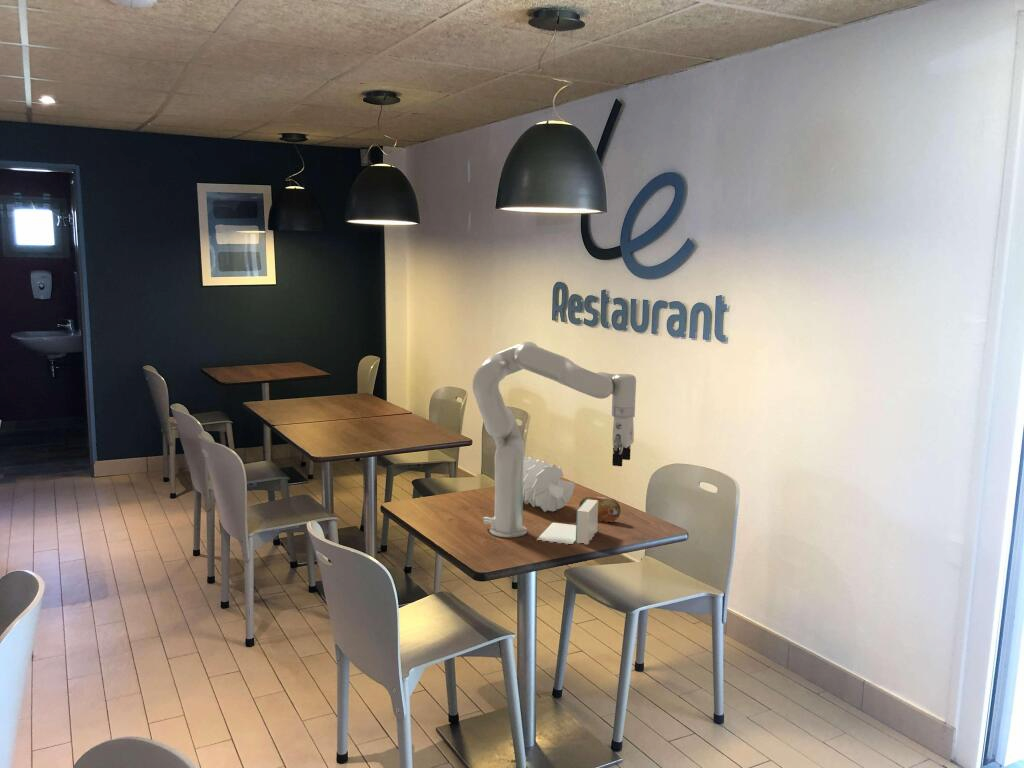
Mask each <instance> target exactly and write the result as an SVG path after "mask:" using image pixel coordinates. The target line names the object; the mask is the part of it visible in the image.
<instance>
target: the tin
mask: <svg viewBox="0 0 1024 768" xmlns="http://www.w3.org/2000/svg"><path fill="white" fill-rule="evenodd" d="M586 499H590V500H598V521H597V522H602V521H604V522H603V523H608V522H610V523H614V522H616V520H618V519H619V517H620V514H621V506H620V504H619V502H618V501H617V500H615V499H613V498H610V497H601V496H596V495H595V496H594V495H587V496H586V497H584V498H582V499H581V501H580V502H579V505H578V508H579V507H580V506H581V505H582V504H583V503H584V502H585V501H586Z"/></svg>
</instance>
